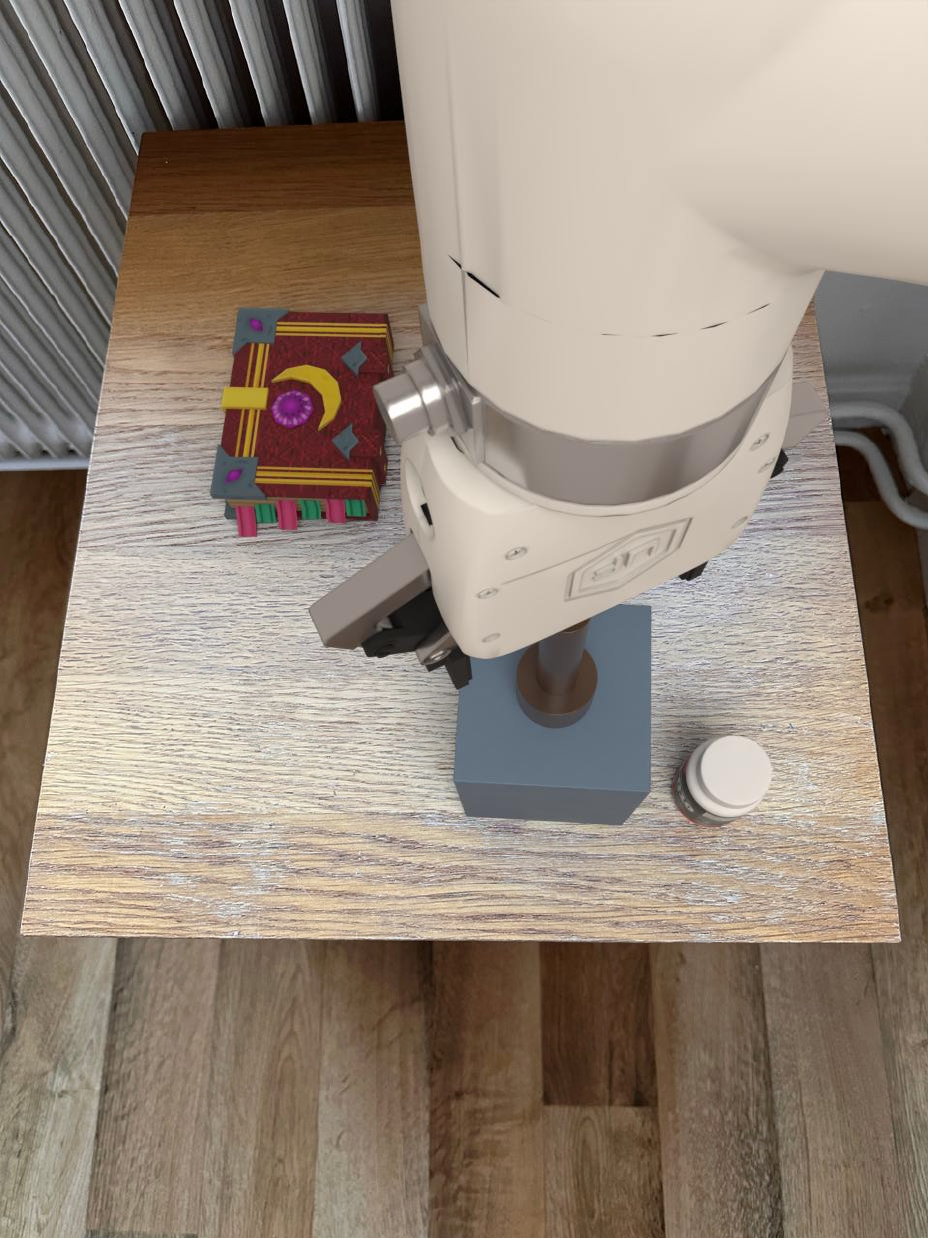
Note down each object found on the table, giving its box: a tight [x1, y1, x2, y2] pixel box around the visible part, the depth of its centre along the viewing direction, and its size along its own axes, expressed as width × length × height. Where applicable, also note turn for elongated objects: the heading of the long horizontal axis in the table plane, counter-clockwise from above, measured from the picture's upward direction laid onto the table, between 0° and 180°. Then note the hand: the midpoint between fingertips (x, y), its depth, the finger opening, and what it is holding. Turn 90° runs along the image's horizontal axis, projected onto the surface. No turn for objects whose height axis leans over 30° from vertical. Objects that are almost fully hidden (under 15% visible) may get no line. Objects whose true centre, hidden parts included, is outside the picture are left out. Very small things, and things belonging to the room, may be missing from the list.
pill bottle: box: [671, 734, 773, 829], centre depth 59 cm, size 5×5×8 cm
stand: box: [452, 603, 652, 826], centre depth 58 cm, size 10×10×14 cm
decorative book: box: [209, 306, 395, 538], centre depth 70 cm, size 11×16×5 cm
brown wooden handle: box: [516, 617, 598, 728], centre depth 45 cm, size 4×4×13 cm
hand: (560, 599), depth 38 cm, fingers open, 9 cm apart
